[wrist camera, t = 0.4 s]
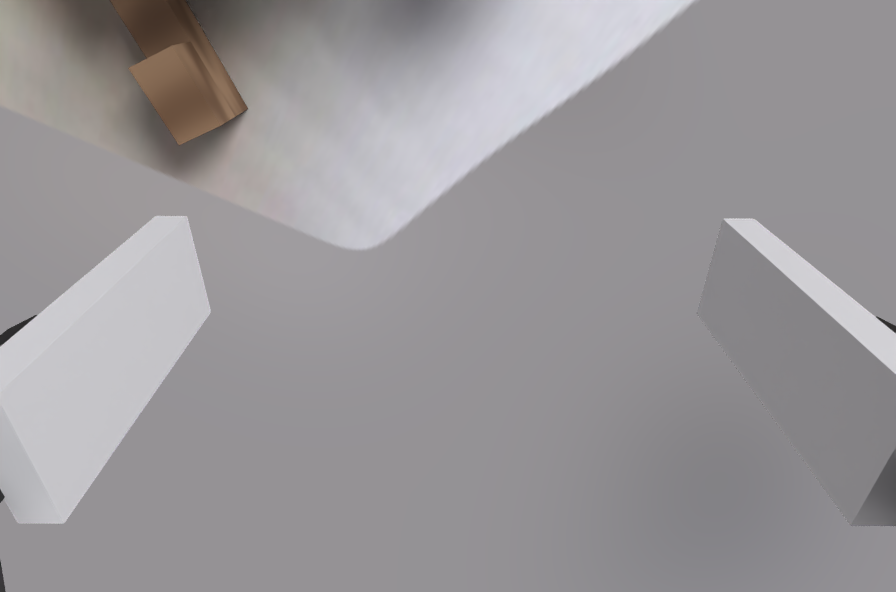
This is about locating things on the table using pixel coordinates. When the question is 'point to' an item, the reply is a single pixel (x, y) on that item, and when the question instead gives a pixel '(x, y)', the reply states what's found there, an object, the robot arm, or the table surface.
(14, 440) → the robot arm
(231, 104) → the walnut u-shaped block
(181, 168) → the table surface
